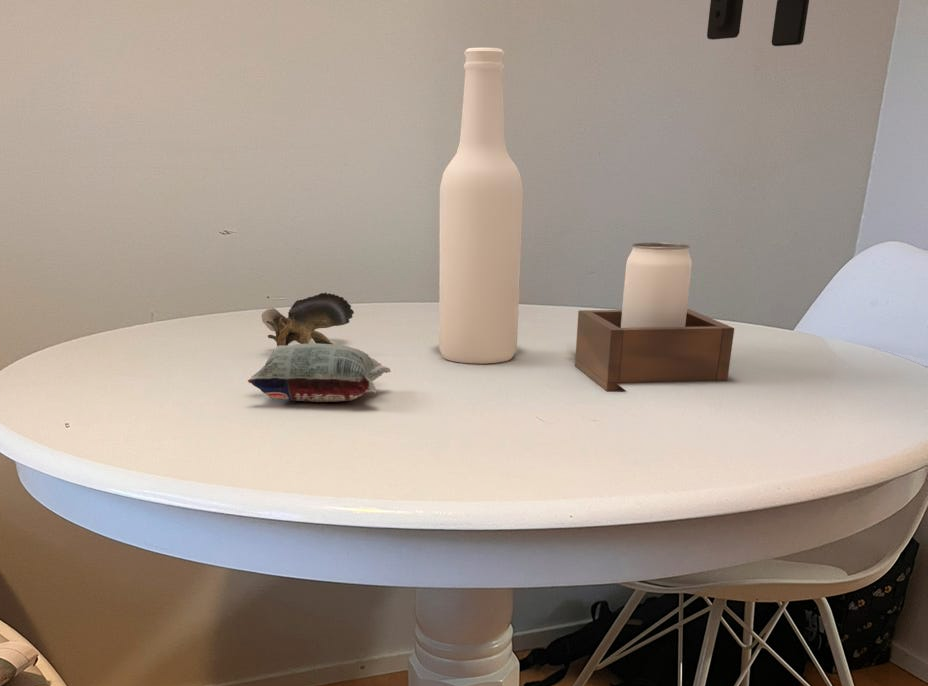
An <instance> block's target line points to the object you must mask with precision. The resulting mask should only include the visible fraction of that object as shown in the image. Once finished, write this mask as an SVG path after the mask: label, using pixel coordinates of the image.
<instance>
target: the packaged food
mask: <svg viewBox="0 0 928 686" xmlns="http://www.w3.org/2000/svg"><path fill="white" fill-rule="evenodd" d="M388 373H391V369H390V367H387V366H384V365H382V363H380V362H378V360H376V359H375V358H372V357H370V356H369V355H368V353H366V352H365V351H363V350H361V349H358V348H355V347H351V346H348V345H343V344H335V343H333V344H318V343H307V344H300V343H298V344H288V345H283V346H278V347H277V346H276V347H275V349H274V350H273V351H272V353H271V354H270V356H269V357H268V359H267V360H266V362H265V364H264V365H263V366H262V367H261V368H260V369H259V370H258V371H257V372H255V373H254V374H253V375H252V376H251V377H250V378H249V379H248V380H247V382H248V384H251V385H252V386H253V387H255V388H257V389H258V390H260V391H261V392H262V393H263V394H265V395H266V396H268V397H269V398H271V399H275V400H283V401H293V402H294V401H295V402H307V403H308V402H310V403H330V402H331V403H332V402H333V403H334V402H335V403H336V402H351V401H354V400H357V399H358V398H359V397H361V396H363V395H364V394H365V393H366V392H367V391H370V392H373V393H375V394H377V391H378V390H377V388H376V386H375V384H374V381H375V380H377V379H378V378H380V377H382V376H383V374H388Z"/></svg>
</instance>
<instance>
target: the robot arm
mask: <svg viewBox="0 0 928 686" xmlns="http://www.w3.org/2000/svg"><path fill="white" fill-rule="evenodd" d="M809 5H810V0H776V6H775V13H774V19H773V21H774V22H773V27H772V36H771V44H772V46H773V47H785V46H786V47H787V46H788V47H789V46H800V45H801V44H802V43H803V42H804V38H805V32H806V25H807V17H808V12H809ZM743 6H744V0H710V4H709V13H708V21H707V31H706V37H707V39H708V40H712V41H713V40H725V39H726V40H727V39H735V38H737V37H738V36H739V35H740V30H741V22H742V13H743Z"/></svg>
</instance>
